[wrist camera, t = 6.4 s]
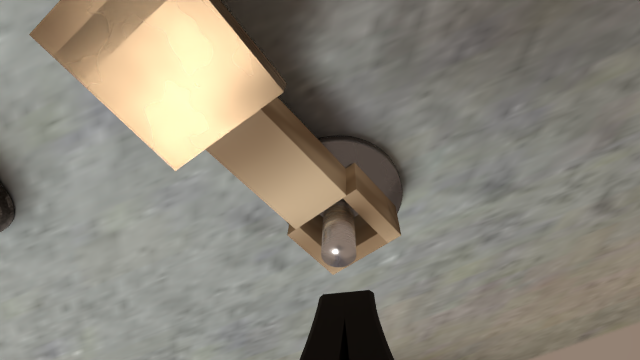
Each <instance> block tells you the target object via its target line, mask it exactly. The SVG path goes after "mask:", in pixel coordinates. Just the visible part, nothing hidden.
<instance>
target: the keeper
mask: <svg viewBox="0 0 640 360" xmlns="http://www.w3.org/2000/svg"><path fill="white" fill-rule="evenodd" d="M29 35H30V36H31V37H32V38H33V39H35V40H36V41H37V42H38V43H39V44H40V45H41V46H42V47H43V48H44V49H45V50H46V51H47V52H48V53H50V54H51V55H52V56H53V57H54V58H55V59H56V60H57V61H58V62H59V63H60V64H61V65H62V66H63V67H65V68H66V69H67V70H68V71H69V72H70V73H71V74H72V75H73V76H74V77H75V78H76V79H77V80H78V81H80V82H81V83H82V84H83V85H84V86H85V87H86V88H87V89H88V90H89V91H90V92H91V93H92V94H93V95H95V96H96V97H97V98H98V99H99V100H100V101H101V102H102V103H103V104H104V105H105V106H106V107H107V108H108V109H110V110H111V111H112V112H113V113H114V114H115V115H116V116H117V117H118V118H119V119H120V120H121V121H122V122H123V123H125V124H126V125H127V126H128V127H129V128H130V129H131V130H132V131H133V132H134V133H135V134H136V135H137V136H139V137H140V138H141V139H142V140H143V141H144V142H145V143H146V144H147V145H148V146H149V147H150V148H151V149H152V150H154V151H155V152H156V153H157V154H158V155H159V156H160V157H161V158H162V159H163V160H164V161H165V162H166V163H167V164H169V165H170V166H171V167H172V168H173V169H174V170H175V171H176V170H177V169H179V168H180V167H181V166H183V165H184V164H185V163H187V162H188V161H190V160H191V159H192V158H194V157H195V156H197V155H198V154H199V153H201V152H202V151H203V150H205V149H206V148H208V147H209V146H210V145H212V144H213V143H214V142H216V141H217V140H219V139H220V138H221V137H223V136H224V135H225V134H227V133H228V132H230V131H231V130H232V129H234V128H235V127H236V126H238V125H239V124H241V123H242V122H243V121H245V120H246V119H247V118H249V117H250V116H252V115H253V114H254V113H256V112H257V111H258V110H260V109H261V108H263V107H264V106H265V105H267V104H268V103H269V102H271V101H272V100H274V99H275V98H276V97H278V96H279V95H280V94H282V93H283V92H284V90H285V87H286V84H287V83H286V82H285V80H284V79H283V78H282V77H281V76H280V74H279V73H278V72H277V71H276V69H275V68H274V67H273V66H272V64H271V63H270V62H269V61H268V59H267V58H266V57H265V56H264V54H263V53H262V52H261V51H260V49H259V48H258V47H257V46H256V44H255V43H254V42H253V41H252V39H251V38H250V37H249V36H248V34H247V33H246V32H245V31H244V30H243V28H242V27H241V26H240V25H239V23H238V22H237V21H236V20H235V18H234V17H233V16H232V15H231V13H230V12H229V11H228V10H227V8H226V7H225V6H224V5H223V3H222V2H221V1H220V0H60V1H59V2H58V3H57V4H56V6H55V7H54V8H53V9H52V10H51V11H50V12H49V13H48V14H47V16H46V17H45V18H44V19H43V20H42V21H41V22H40V23H39V24H38V25H37V27H36V28H35V29H34V30H33V31H32V32H31V33H30V34H29Z"/></svg>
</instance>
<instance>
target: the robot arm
mask: <svg viewBox="0 0 640 360" xmlns="http://www.w3.org/2000/svg"><path fill="white" fill-rule="evenodd" d="M300 360H394V358H393V356H392V353H391V351H390V349H389V346H388V344H387V341H386V338H385V336H384V333H383V330H382V327H381V324H380V321H379V317H378V314H377V310H376V304H375V298H374V293H373V292H371V291H370V290H365V291H354V292H344V293H334V294H323V295H322V296H321V297H320V298H319V303H318V307H317V310H316V314H315V318H314V321H313V324H312V327H311V330H310V333H309V336H308V339H307V342H306V345H305V347H304V350H303V352H302V355H301V357H300Z"/></svg>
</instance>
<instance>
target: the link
mask: <svg viewBox="0 0 640 360" xmlns="http://www.w3.org/2000/svg"><path fill="white" fill-rule="evenodd" d="M205 150H207V151H208V152H209V153H210V154H211V155H212V156H213V157H214V158H216V159H217V160H218V161H219V162H220V163H221V164H222V165H224V166H225V167H226V168H227V169H228V170H229V171H230V172H231V173H233V174H234V175H235V176H236V177H237V178H238V179H239V180H240V181H242V182H243V183H244V184H245V185H246V186H247V187H248V188H250V189H251V190H252V191H253V192H254V193H255V194H256V195H257V196H259V197H260V198H261V199H262V200H263V201H264V202H265V203H266V204H268V205H269V206H270V207H271V208H272V209H273V210H274V211H276V212H277V213H278V214H279V215H280V216H281V217H282V218H283V219H285V220H286V221H287V222H288V223H289V228H288V234H287V235H288V236H289V237H290V238H291V239H293V240H294V241H295V242H296V243H297V244H298V245H299V246H301V247H302V248H303V249H304V250H305V251H306V252H308V253H309V254H310V255H311V256H312V257H313V258H314V259H316V260H317V261H318V262H319V263H320V264H321V265H323V266H324V267H325V268H326V269H327V270H328V271H329V272H331V273H332V274H333V275H334V274H335V273H337V272H339V271H341V270H342V269H344V268H346V267H347V266H345V267H332V266H330V265H328V264H326V263H325V262H324V261H323V259H322V257H321V247H322V228H323V217H322V216H321V215H320V213H321V212H323V211H324V210H326V209H327V208H329V207H330V206H332V205H333V204H335V203H336V202H338V201H339V200H341V199H342V198H343V199H344V200H345V201H346V202H347V203H348V204H349V205H350V206H351V207H352V208H353V209H354V210H355V211H356V212H357V213H358V214H359V215H357V216H355V217H354V218H355V238H356V259H355V260H354V262H356V261H358V260H359V259H361V258H363V257H365V256H366V255H368V254H370V253H372V252H373V251H375V250H377V249H378V248H380V247H382V246H384V245H385V244H387V243H389V242H390V241H392V240H394V239H396V238H397V237H399V236H401V232H400V227H399V222H398V217H397V212H396V206H395V205H394V204H393V203H392V202H391V201H390V200H389V199H388V198H387V197H386V195H385V194H384V193H383V192H382V191H381V190H380V189H379V188H378V187H377V186H376V185H375V184H374V183H373V182H372V180H371V179H370V178H369V177H368V176H367V175H366V174H365V173H364V172H363V171H362V170H361V169H360V168H359V167H358V166H357V164H356V163H353V164H352V165H350V166H349V167H347V168H345V167H344V166H343V165H342V164H341V163H340V162H339V161H338V160H337V159H336V158H335V157H334V156H333V155H332V154H331V153H330V152H329V151H328V149H327V148H326V147H325V146H324V145H323V144H322V143H321V142H320V141H319V140H318V139H317V138H316V137H315V136H314V135H313V134H312V133H311V132H310V131H309V130H308V129H307V128H306V127H305V125H304V124H303V123H302V122H301V121H300V120H299V119H298V118H297V117H296V116H295V115H294V114H293V113H292V112H291V111H290V110H289V109H288V108H287V107H286V106H285V105H284V104H283V103H282V101H281V100H280V99H279V98H278V97H276V98H275V99H274V100H272V101H271V102H269V103H268V104H267V105H265V106H264V107H263V108H261V109H260V110H258V111H257V112H256V113H254V114H253V115H252V116H250V117H249V118H247V119H246V120H245V121H243V122H242V123H241V124H239V125H238V126H236V127H235V128H234V129H232V130H231V131H230V132H228V133H227V134H225V135H224V136H223V137H221V138H220V139H219V140H217V141H216V142H214V143H213V144H212V145H210V146H209V147H208V148H206V149H205ZM354 262H353V263H354ZM353 263H352V264H353ZM350 265H351V264H350ZM348 266H349V265H348Z"/></svg>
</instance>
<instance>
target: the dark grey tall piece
mask: <svg viewBox="0 0 640 360" xmlns="http://www.w3.org/2000/svg"><path fill="white" fill-rule="evenodd" d="M13 219H14V207H13V204H12V200H11V198H10V197H9V195H8V193H7V192H6V190H5V189H4V187H3V186H2V185H1V184H0V232H1V231H3V230H4V229H6V228H7V227H9V226H10V224H11V222H12V220H13Z"/></svg>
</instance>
